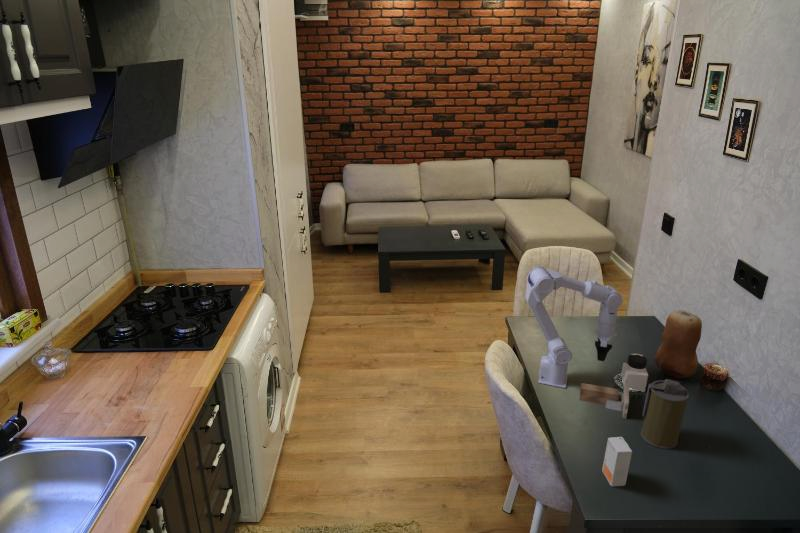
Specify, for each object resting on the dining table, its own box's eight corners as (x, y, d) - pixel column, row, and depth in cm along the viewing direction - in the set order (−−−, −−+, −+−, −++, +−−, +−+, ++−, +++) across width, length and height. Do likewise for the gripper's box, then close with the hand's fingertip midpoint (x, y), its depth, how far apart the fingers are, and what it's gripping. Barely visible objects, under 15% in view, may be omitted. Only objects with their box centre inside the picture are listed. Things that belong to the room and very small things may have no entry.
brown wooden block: (579, 400, 183) (581, 388, 181) (579, 395, 186) (581, 382, 184) (616, 407, 179) (619, 394, 177) (616, 401, 182) (618, 389, 180)
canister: (675, 430, 168) (688, 376, 161) (679, 452, 159) (693, 395, 151) (637, 423, 171) (649, 369, 164) (640, 444, 162) (652, 388, 155)
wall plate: (622, 418, 174) (625, 402, 171) (622, 394, 186) (625, 379, 183) (625, 418, 173) (629, 403, 171) (625, 395, 185) (628, 380, 183)
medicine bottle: (645, 392, 187) (651, 363, 182) (623, 390, 188) (629, 360, 184) (640, 381, 193) (646, 352, 189) (620, 379, 195) (625, 350, 190)
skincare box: (601, 471, 151) (607, 436, 147) (615, 470, 152) (622, 436, 147) (610, 487, 146) (617, 452, 141) (625, 486, 146) (633, 451, 142)
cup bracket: (605, 407, 179) (607, 400, 177) (606, 396, 184) (607, 389, 183) (622, 411, 177) (624, 404, 176) (622, 400, 182) (624, 392, 181)
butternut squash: (689, 368, 202) (704, 308, 192) (697, 388, 190) (713, 325, 180) (649, 362, 205) (662, 303, 196) (655, 381, 193) (668, 319, 184)
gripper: (619, 332, 177) (612, 367, 182) (619, 313, 190) (613, 347, 195) (596, 328, 180) (591, 363, 185) (598, 310, 192) (593, 343, 197)
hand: (601, 355), depth 190 cm, fingers open, 7 cm apart
